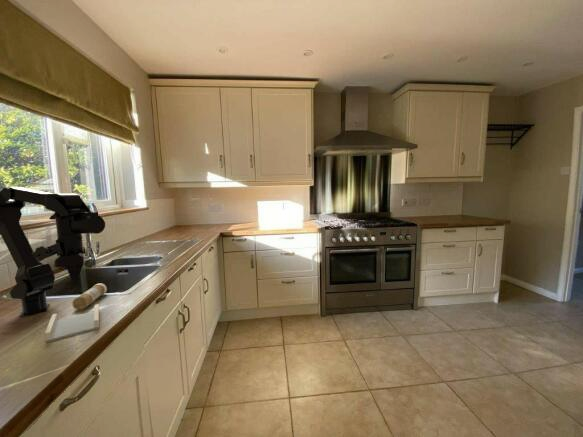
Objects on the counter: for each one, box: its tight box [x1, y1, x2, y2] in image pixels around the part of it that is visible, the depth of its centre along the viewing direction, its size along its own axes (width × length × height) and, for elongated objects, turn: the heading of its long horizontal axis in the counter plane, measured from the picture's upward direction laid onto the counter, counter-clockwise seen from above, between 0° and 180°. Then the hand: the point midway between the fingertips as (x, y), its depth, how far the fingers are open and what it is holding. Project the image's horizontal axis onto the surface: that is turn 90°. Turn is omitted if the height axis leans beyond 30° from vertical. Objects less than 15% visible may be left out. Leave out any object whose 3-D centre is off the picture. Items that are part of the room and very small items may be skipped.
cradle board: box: [44, 303, 100, 344], centre depth 73 cm, size 13×11×3 cm
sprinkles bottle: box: [72, 283, 108, 311], centre depth 89 cm, size 5×5×13 cm
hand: (75, 281), depth 80 cm, fingers closed
